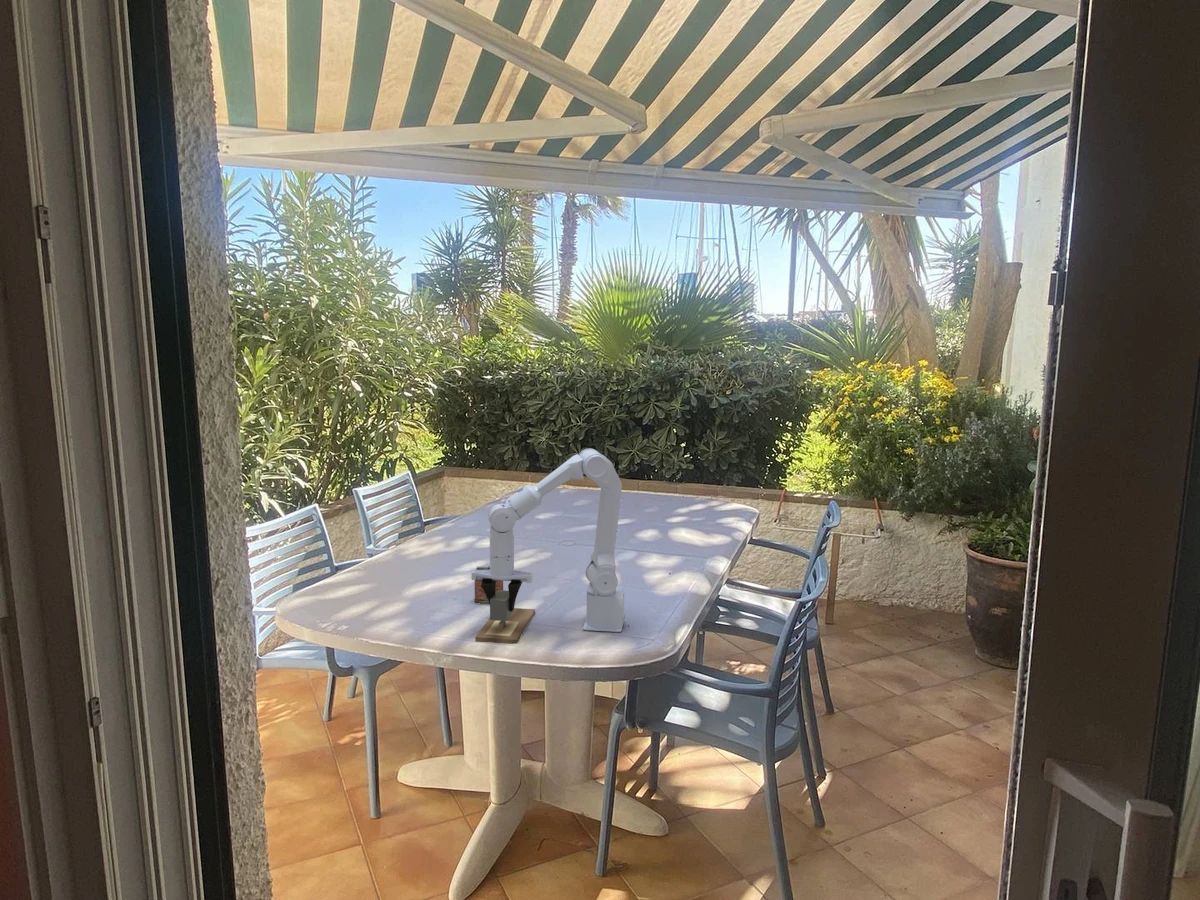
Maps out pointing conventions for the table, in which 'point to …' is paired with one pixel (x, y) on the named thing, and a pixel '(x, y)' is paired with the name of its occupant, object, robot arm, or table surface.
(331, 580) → the table surface
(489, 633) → the pin board
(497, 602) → the block
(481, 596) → the lighter
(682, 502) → the table surface
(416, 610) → the table surface
